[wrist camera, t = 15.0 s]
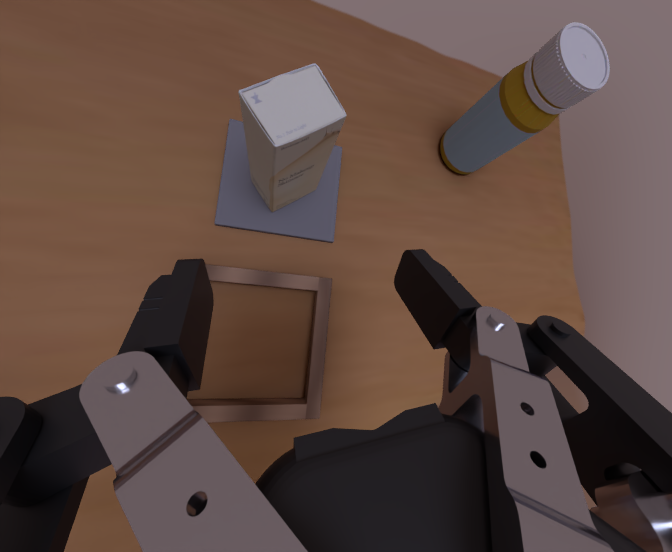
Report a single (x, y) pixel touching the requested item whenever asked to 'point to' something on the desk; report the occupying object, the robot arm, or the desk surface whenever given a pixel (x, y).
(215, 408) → the frame
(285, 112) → the skincare box
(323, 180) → the charcoal mat
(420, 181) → the desk surface
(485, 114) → the bottle
